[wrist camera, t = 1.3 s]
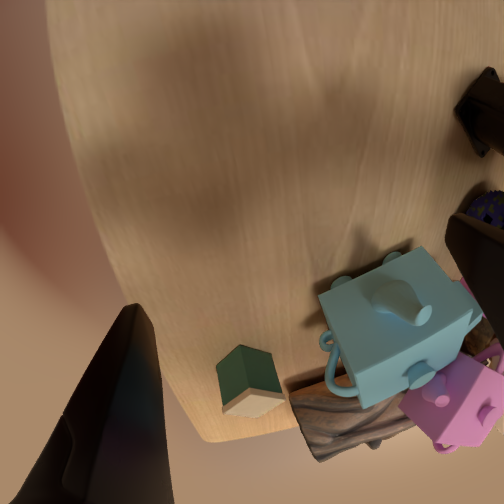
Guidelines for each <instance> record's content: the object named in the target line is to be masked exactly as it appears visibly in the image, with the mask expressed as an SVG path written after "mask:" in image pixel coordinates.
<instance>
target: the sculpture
mask: <svg viewBox="0 0 504 504" xmlns="http://www.w3.org/2000/svg"><path fill="white" fill-rule="evenodd" d="M483 350H485V348H484V349H483ZM483 350H482V351H483ZM482 351H481V352H482ZM459 352H461V353H463V354H465V355H467V356H469V357H471V358H473V356H470V355H469V354H466V353H464V352H462V351H460V350H459ZM480 363H482V364H484V365H485V366H486V365H487V364H488V361H487V359H486V360H484V361H482V362H480ZM334 381H335V384H336V385H338V386H341V387H350V386H352V383H351V381H350V379H349V376H348V374H345V375H342V376H339V377H336V378H334ZM408 390H409V387H408V388H407V389H405V390H403V391H401V392H399V393H397V394H395V395H393V396H391V397H389V398H387V399H385V400H383V401H381V402H379V403H376V404H374V405H372V406H370V407H368V408H365V409H363V408H362V407H361V404H360V402H359V400H358V397H357V395H356V396H352V397H342V396H338V395H336V394H334V393H332V392H331V391H330V390H329V389H328V387H327V385H326V383H325V381H323V382H320V383H317V384H314V385H311V386H308V387H305V388H302V389H300V390H297V391H294V392H292V393H289V401H290V404H291V407H292V411H293V413H294V415H295V417H296V420H297V422H298V424H299V426H300V430H301V433H302V434H303V436H304V438H305V440H306V443H307V445H308V447H309V449H310V451H311V453H312V455H313V457H314V458H315V459H316V460H317V461H318V462H319V463H320V462H324V461H326V460H328V459H330V458H332V457H334V456H335V455H337V454H339V453H341V452H343V451H346V450H348V449H351V448H354V447H356V446H358V445H359V444H361V443H366V444H367V445H368V446H369V447H370V448H371V449H373V450H374V449H377V448H379V446H380V444H381V442H382V440H386V439H389V438H391V437H394V436H395V435H397V434H399V433H400V432H402V431H405V430H408V429H409V428H411V427H413V426H415V425H416V424H415V423H414V422H413V421H412V420H411V419H410V418H409V417H408V416H407V415H406V414H405V413H404V412H402V411H401V410H400V409H399V408H398V405H399V404H400V402H401V401H402V399H403V397H404V396H405V394H406V393H407V391H408Z"/></svg>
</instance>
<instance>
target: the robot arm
mask: <svg viewBox="0 0 504 504" xmlns="http://www.w3.org/2000/svg"><path fill="white" fill-rule="evenodd" d="M460 111H461V112H460ZM455 113H456V115H457V117H458V119H459V121H460V122H461V124H462V126H463V128H464V130H465V132H466V134H467V135H468V137H469V139H470V141H471V143H472V145H473V147H474V149H475V151H476V153H477V155H478V156H479V157H481V158H483V157H484V156H485V155H486V154H487V152H488V151H489V150H490V148H491V149H493V150H495V151H496V152H498V153H499V154H501V155H503V156H504V83H502V82H500V80H499V78H498V75H497V73H496V71H495V69H494V68H492V67H488V68H487V69H486V70H485V71H484V73H483V74H482V75H481V77H480V78H479V79H478V80H477V82H476V83H475V84H474V85H473V87H472V88H471V89H470V90H469V92H468V93H467V94H466V95H465V97H464V98H463V99H462V100H461V102H460V103H459V104H458V105H457V107H456V109H455ZM445 243H446V246H447V248H448V249H449V251H450V253H451V255H452V257H453V259H454V261H455V262H456V264H457V266H458V268H459V270H460V272H461V274H462V276H463V278H464V280H465V282H466V284H467V285H468V287H469V289H470V291H471V292H472V294H473V296H474V297H475V299H476V301H477V302H478V304H479V306H480V308H481V309H482V311H483V313H484V315H485V317H486V318H487V320H488V322H489V324H490V326H491V328H492V329H493V331H494V333H495V335H496V337H497V339H498V341H499V343H500V345H501V347H502V349H503V351H504V230H502V229H500V228H497V227H495V226H493V225H490V224H488V223H486V222H483V221H481V220H478V219H476V218H473V217H471V216H468V215H466V214H463V213H458V214H454V215H452V216H450V218H449V220H448V225H447V229H446V234H445ZM9 504H174V498H173V490H172V483H171V476H170V467H169V459H168V450H167V440H166V429H165V419H164V404H163V388H162V378H161V372H160V366H159V359H158V353H157V346H156V340H155V332H154V327H153V324H152V322H151V321H150V319H149V317H148V316H147V314H146V313H145V311H144V309H143V308H142V306H141V305H140V304H138V303H135V304H131V305H127V306H125V307H123V309H122V310H121V312H120V313H119V315H118V317H117V318H116V320H115V321H114V323H113V325H112V326H111V328H110V330H109V331H108V333H107V335H106V336H105V338H104V340H103V341H102V343H101V345H100V346H99V348H98V350H97V352H96V353H95V355H94V357H93V359H92V360H91V362H90V364H89V366H88V367H87V369H86V371H85V373H84V374H83V377H82V378H81V380H80V382H79V384H78V385H77V387H76V389H75V391H74V393H73V394H72V396H71V398H70V400H69V402H68V404H67V406H66V408H65V409H64V412H63V415H62V416H61V417H60V419H59V421H58V423H57V425H56V427H55V429H54V431H53V432H52V434H51V436H50V438H49V440H48V442H47V444H46V446H45V447H44V449H43V451H42V453H41V454H40V456H39V458H38V460H37V461H36V463H35V465H34V467H33V468H32V470H31V471H30V473H29V475H28V477H27V478H26V480H25V482H24V484H23V485H22V487H21V489H20V491H19V492H18V494H17V495H16V497H15V498H14V499H13V500H12V501H11V502H10V503H9Z"/></svg>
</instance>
